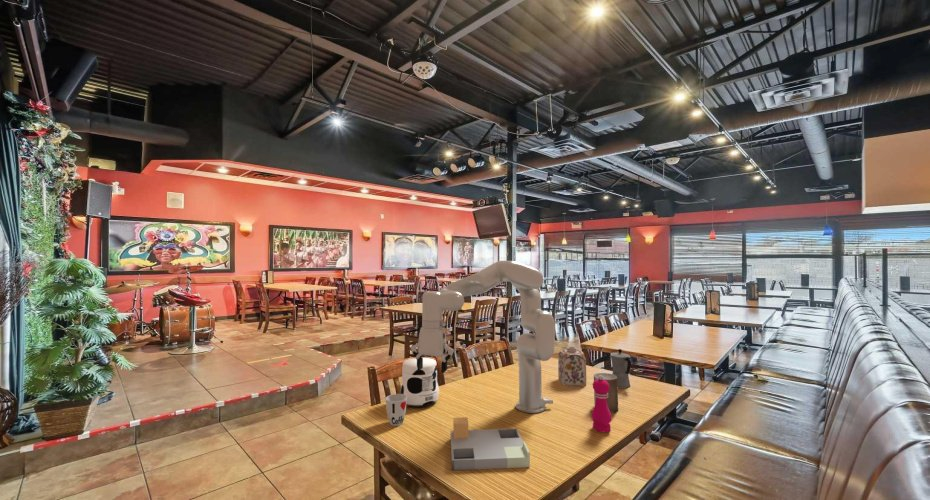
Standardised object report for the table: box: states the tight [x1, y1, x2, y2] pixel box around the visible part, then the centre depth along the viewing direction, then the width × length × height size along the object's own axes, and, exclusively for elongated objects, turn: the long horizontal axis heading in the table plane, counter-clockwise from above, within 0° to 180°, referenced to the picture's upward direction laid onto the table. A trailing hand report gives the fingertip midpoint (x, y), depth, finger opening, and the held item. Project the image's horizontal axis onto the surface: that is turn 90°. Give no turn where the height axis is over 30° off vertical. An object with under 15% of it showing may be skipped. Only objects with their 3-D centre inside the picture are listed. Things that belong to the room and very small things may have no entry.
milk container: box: [399, 357, 440, 408], centre depth 172 cm, size 17×17×18 cm
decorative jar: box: [557, 346, 587, 387], centre depth 198 cm, size 12×12×18 cm
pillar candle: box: [593, 372, 619, 413], centre depth 164 cm, size 10×10×15 cm
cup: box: [385, 393, 407, 427], centre depth 150 cm, size 8×8×10 cm
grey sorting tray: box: [450, 428, 531, 471], centre depth 128 cm, size 24×20×4 cm
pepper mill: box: [591, 375, 613, 433], centre depth 144 cm, size 7×7×20 cm
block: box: [452, 416, 469, 439], centre depth 134 cm, size 5×5×5 cm
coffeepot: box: [610, 348, 632, 389], centre depth 192 cm, size 15×9×18 cm, turn 9°
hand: (431, 370), depth 143 cm, fingers open, 9 cm apart
